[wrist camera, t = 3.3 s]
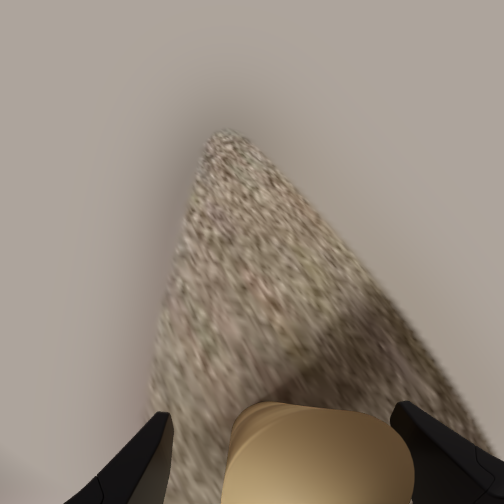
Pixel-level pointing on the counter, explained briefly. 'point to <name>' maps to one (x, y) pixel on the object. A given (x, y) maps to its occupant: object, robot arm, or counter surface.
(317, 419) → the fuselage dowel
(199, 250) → the counter surface
